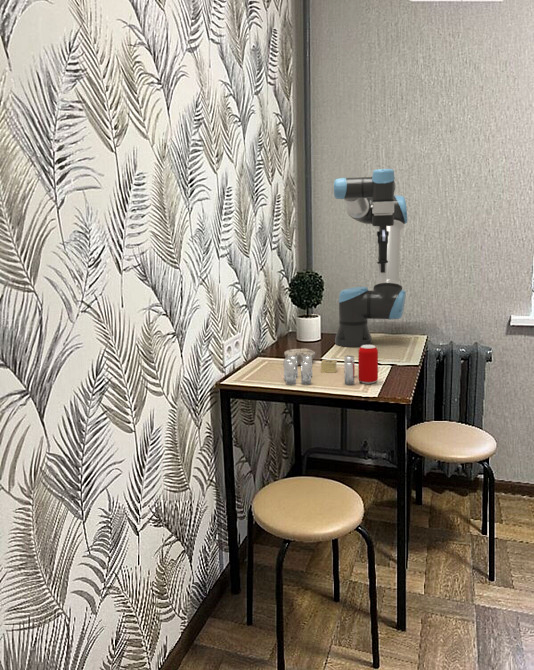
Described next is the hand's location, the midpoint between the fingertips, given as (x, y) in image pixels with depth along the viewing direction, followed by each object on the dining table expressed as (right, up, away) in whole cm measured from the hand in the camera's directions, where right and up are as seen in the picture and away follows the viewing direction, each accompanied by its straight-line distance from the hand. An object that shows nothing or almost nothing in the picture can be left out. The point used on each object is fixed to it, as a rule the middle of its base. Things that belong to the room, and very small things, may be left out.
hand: (382, 281), depth 221 cm
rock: (-30, -30, +7) cm, 43 cm away
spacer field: (-21, -34, -17) cm, 44 cm away
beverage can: (-8, -35, -20) cm, 41 cm away
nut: (-20, -32, -5) cm, 38 cm away
